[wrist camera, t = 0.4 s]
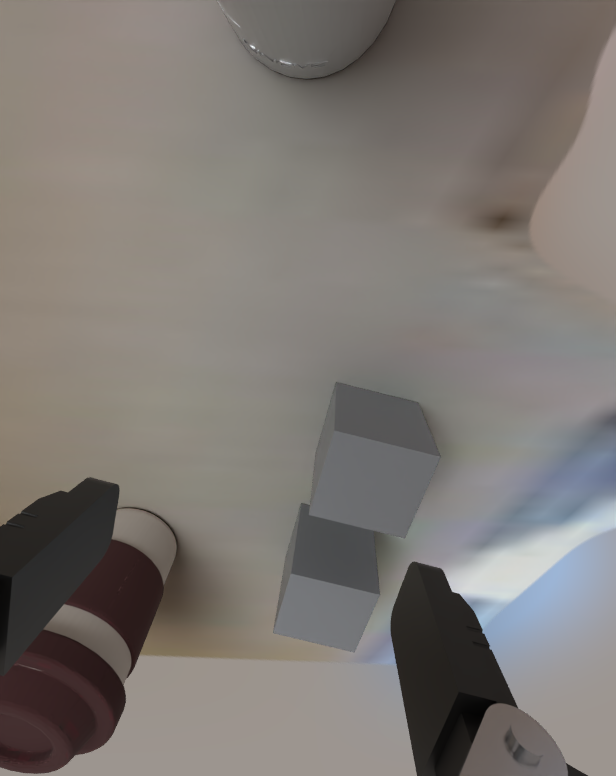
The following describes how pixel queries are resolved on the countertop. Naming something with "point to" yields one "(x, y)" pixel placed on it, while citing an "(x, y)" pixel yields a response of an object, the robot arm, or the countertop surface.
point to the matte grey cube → (372, 461)
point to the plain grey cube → (327, 582)
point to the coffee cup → (86, 652)
